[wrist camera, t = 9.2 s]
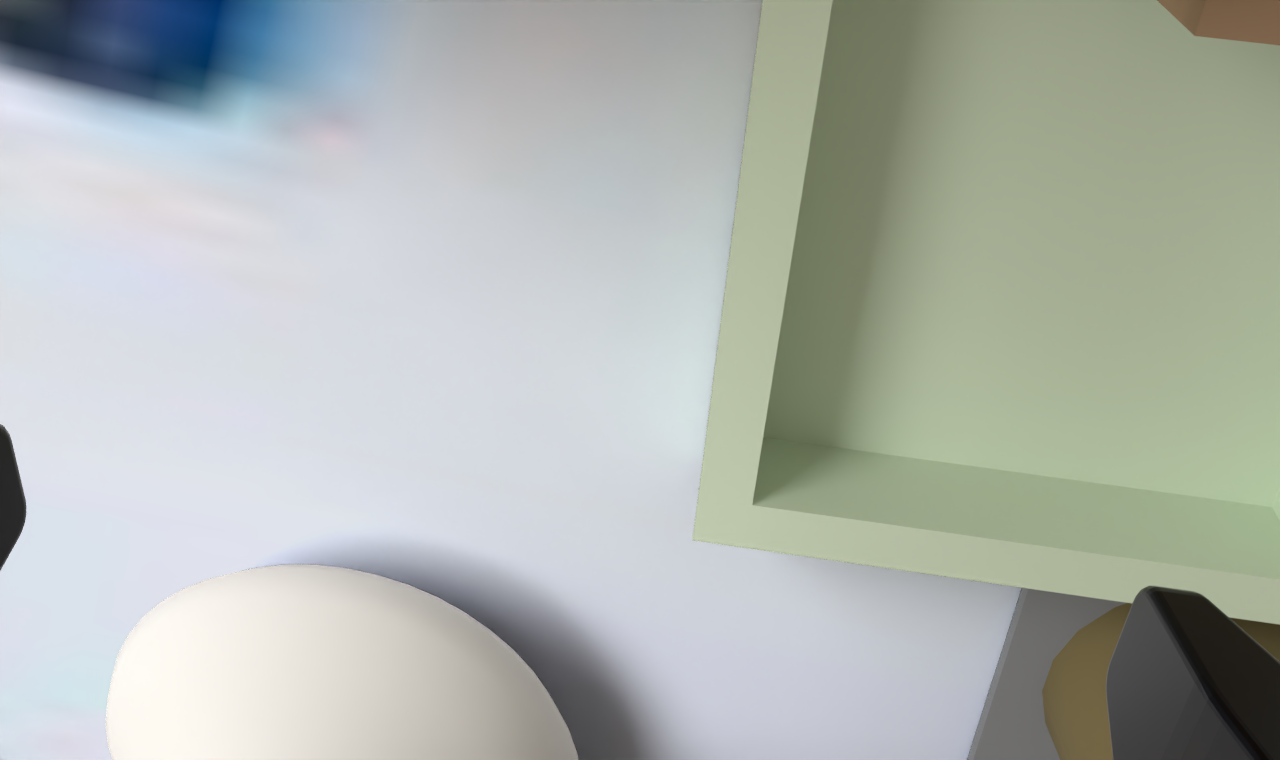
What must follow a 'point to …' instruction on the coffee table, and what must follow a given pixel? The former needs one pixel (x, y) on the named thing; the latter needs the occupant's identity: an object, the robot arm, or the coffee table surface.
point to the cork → (1102, 684)
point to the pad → (1030, 674)
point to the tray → (1005, 300)
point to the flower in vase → (323, 676)
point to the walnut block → (1229, 19)
